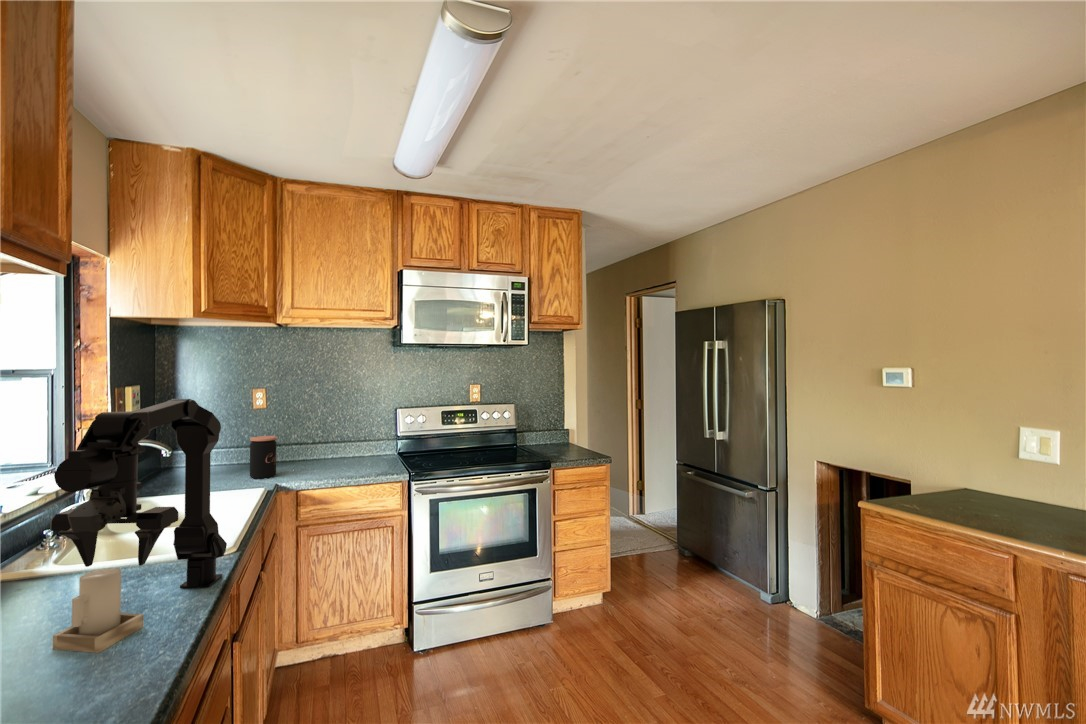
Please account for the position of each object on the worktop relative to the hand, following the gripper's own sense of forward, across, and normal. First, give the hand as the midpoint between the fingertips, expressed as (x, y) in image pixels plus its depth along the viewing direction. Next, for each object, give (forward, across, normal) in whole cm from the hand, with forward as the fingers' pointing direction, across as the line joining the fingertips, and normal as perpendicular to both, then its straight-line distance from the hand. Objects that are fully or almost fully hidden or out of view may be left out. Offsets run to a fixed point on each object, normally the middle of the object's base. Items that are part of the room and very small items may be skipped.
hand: (115, 565), depth 95 cm
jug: (+15, -5, +4) cm, 16 cm away
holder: (+15, -5, +4) cm, 16 cm away
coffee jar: (+12, -38, +145) cm, 150 cm away
